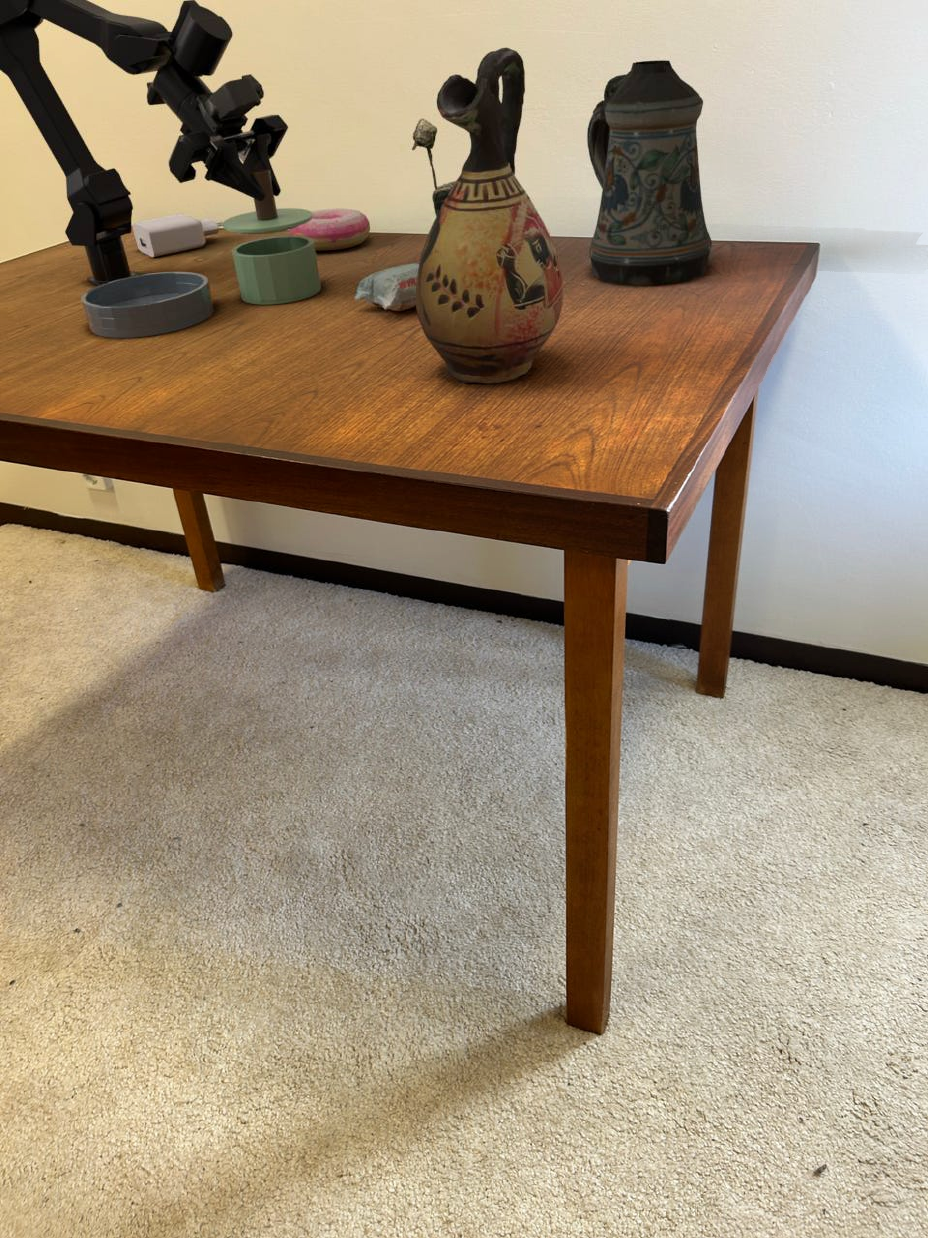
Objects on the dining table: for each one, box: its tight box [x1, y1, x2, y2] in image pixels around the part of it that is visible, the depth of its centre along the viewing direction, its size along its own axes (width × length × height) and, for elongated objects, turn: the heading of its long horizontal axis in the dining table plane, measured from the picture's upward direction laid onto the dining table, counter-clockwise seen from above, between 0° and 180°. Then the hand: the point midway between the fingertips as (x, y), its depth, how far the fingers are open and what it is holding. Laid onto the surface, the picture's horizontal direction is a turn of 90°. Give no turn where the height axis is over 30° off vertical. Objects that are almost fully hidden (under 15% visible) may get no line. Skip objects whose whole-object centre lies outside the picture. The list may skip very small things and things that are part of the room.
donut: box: [288, 207, 371, 252], centre depth 157 cm, size 14×13×5 cm
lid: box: [222, 169, 313, 235], centre depth 129 cm, size 12×12×7 cm
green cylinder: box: [231, 235, 322, 306], centre depth 134 cm, size 11×11×6 cm
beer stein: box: [586, 59, 713, 287], centre depth 125 cm, size 16×19×25 cm
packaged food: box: [354, 262, 419, 312], centre depth 124 cm, size 9×12×5 cm
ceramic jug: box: [415, 47, 564, 384], centre depth 95 cm, size 17×15×30 cm
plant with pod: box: [411, 118, 456, 218], centre depth 135 cm, size 8×11×20 cm
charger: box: [131, 213, 224, 258], centre depth 165 cm, size 5×9×15 cm
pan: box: [80, 271, 215, 339], centre depth 129 cm, size 17×17×4 cm
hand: (271, 196), depth 128 cm, fingers closed on lid, 3 cm apart
